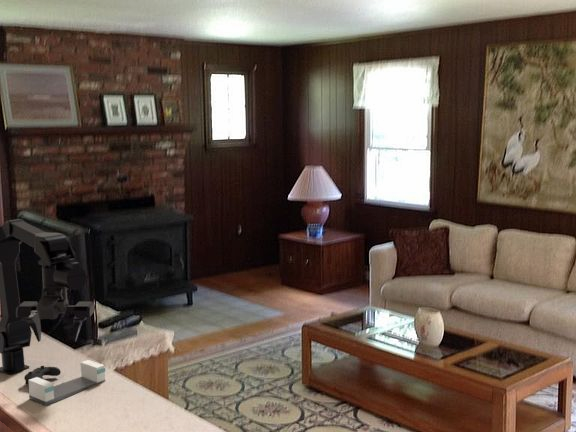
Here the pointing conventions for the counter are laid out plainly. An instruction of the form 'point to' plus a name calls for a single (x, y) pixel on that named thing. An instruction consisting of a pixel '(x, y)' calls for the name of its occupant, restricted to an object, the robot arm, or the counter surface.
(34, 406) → the counter surface
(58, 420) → the counter surface
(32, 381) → the mounted modules
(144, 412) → the counter surface
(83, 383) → the rail plate
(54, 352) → the counter surface
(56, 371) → the game controller
